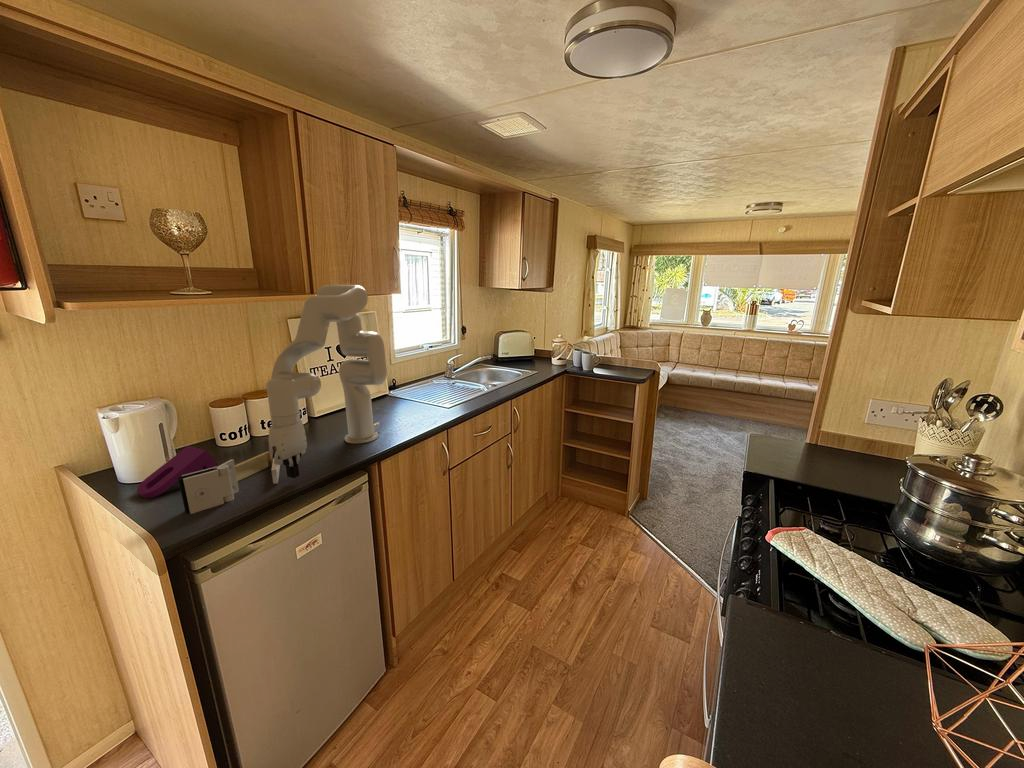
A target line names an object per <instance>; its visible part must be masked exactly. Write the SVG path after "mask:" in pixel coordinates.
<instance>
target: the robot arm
mask: <svg viewBox="0 0 1024 768" xmlns="http://www.w3.org/2000/svg"><path fill="white" fill-rule="evenodd" d="M368 297H369V296H368V292H367V290H366V289H365V288H364V287H363V286H361V285H359V284H326V285H322V286H320V287H319V288H318V290H317V292H316V295H313V296H309V297H308V298H306V300H305V302H304V304H303V307H302V310H301V311H302V312H301V315H300V319H299V323H298V327H297V332H296V335H295V338H294V340H292V341H291V342H290V343H289V344H288V345H287V346H286V347H285V348H284V349H283V350H282V351H281V352H280V354H279V355H278V356H277V358H276V360H275V362H274V365H273V368H272V373H271V378H270V379H268V380H267V381H266V392H267V399H268V405H269V406H268V408H269V413H270V421H271V426H269V428H268V451H269V454H270V458H273V459H274V458H275V459H274V464H276V465H280V466H281V465H283V467H285V471H286V477H287V478H291V479H296V478H297V477H299V476H300V469H299V464H300V460H301V458H302V456H303V455H304V454H305V453H306V452H307V448H308V441H307V434H306V430H305V426H304V424H303V421H302V419H301V415H302V412H301V411H300V406H299V400H300V399H305V398H306V399H307V398H311V397H314V396H316V395H317V394H318V393H319V392H320V390H321V388H322V382H321V379H320V378H319V376H318V375H316V374H314V373H310V372H298V371H296V372H293V370H294V368H295V366H296V365H297V363H298V362H300V360H301V359H303V358H304V357H306V356H308V355H311V354H313V353H315V352H317V351H319V350H320V349H322V348H323V347H325V344H326V340H327V336H328V331H329V327H330V323H334V322H335V323H336V328H337V336H338V343H339V348H340V351H341V353H342V355H343V356H347V357H354V358H355V357H356V358H355V359H348V360H344V361H343V362H342V363H340V365H339V368H338V375H339V378H340V381H341V384H342V389H343V393H344V394H343V395H344V404H345V405H344V406H345V413H346V425H347V431H348V432H347V434H346V435H345V436H344V441H345V442H346V443H348V444H355V445H356V444H357V445H359V444H364V443H365V444H366V443H369V442H372V441H375V440H376V439H378V437H379V433H378V431H376V429H377V428H379V427H380V426H381V423H380V422H377V421H376V422H375V423H374V418H373V409H372V407H373V406H372V396H371V392H370V390H369V388H368V386H381V385H382V384H383V385H384V383H385V382H386V379H387V376H388V374H387V373H388V369H387V359H386V349H385V343H384V340H383V337H382V336H381V335H380V334H379V333H378V332H376V331H370V330H369V331H368V330H367V331H364V330H363V326H362V320H361V317H360V312H362V311H363V310H364V309H365V308H366V306H367V304H368V300H369V298H368ZM357 358H367V359H357Z"/></svg>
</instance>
